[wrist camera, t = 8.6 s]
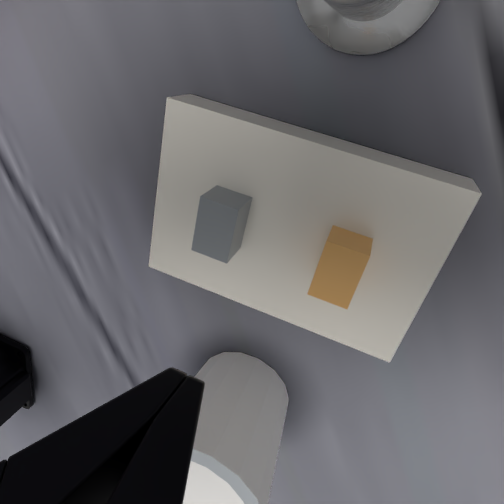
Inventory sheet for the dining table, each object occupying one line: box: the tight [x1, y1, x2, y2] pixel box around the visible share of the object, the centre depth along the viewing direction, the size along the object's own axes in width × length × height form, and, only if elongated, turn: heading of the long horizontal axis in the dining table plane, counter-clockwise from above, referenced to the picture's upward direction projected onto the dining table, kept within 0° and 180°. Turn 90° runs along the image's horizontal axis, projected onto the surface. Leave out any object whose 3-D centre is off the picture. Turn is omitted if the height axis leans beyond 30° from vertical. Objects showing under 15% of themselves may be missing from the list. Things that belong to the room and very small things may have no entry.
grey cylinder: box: [183, 352, 289, 504], centre depth 21 cm, size 7×7×7 cm
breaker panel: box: [149, 94, 482, 363], centre depth 16 cm, size 12×8×4 cm, turn 77°
